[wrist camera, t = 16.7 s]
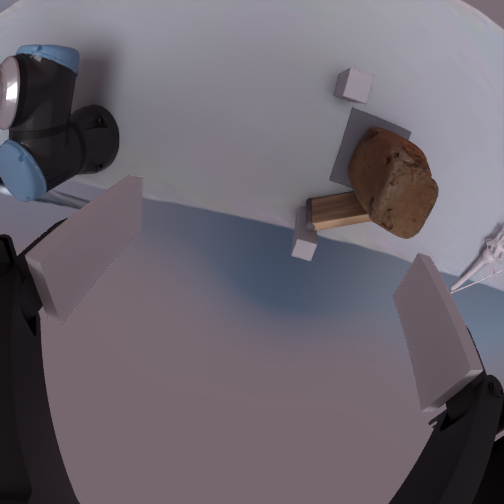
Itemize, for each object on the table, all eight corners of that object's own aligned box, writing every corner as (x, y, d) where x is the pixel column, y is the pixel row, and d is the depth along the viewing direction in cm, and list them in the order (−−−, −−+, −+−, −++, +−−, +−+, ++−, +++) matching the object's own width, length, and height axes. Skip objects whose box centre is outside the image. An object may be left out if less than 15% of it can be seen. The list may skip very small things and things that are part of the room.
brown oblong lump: (379, 191, 45) (414, 250, 28) (341, 174, 45) (360, 227, 28) (403, 137, 39) (458, 170, 22) (364, 118, 39) (403, 137, 22)
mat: (329, 179, 46) (329, 180, 46) (352, 107, 39) (352, 107, 38) (384, 199, 46) (385, 200, 46) (410, 131, 38) (411, 132, 38)
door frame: (295, 220, 52) (291, 255, 42) (339, 73, 36) (350, 67, 26) (310, 224, 52) (310, 260, 42) (357, 79, 36) (374, 75, 26)
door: (305, 199, 49) (304, 224, 40) (400, 183, 43) (419, 205, 35) (308, 211, 50) (308, 239, 42) (401, 196, 44) (419, 220, 36)
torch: (437, 262, 59) (516, 220, 38) (446, 296, 56) (529, 259, 35) (427, 261, 56) (513, 215, 36) (436, 298, 53) (527, 257, 32)
